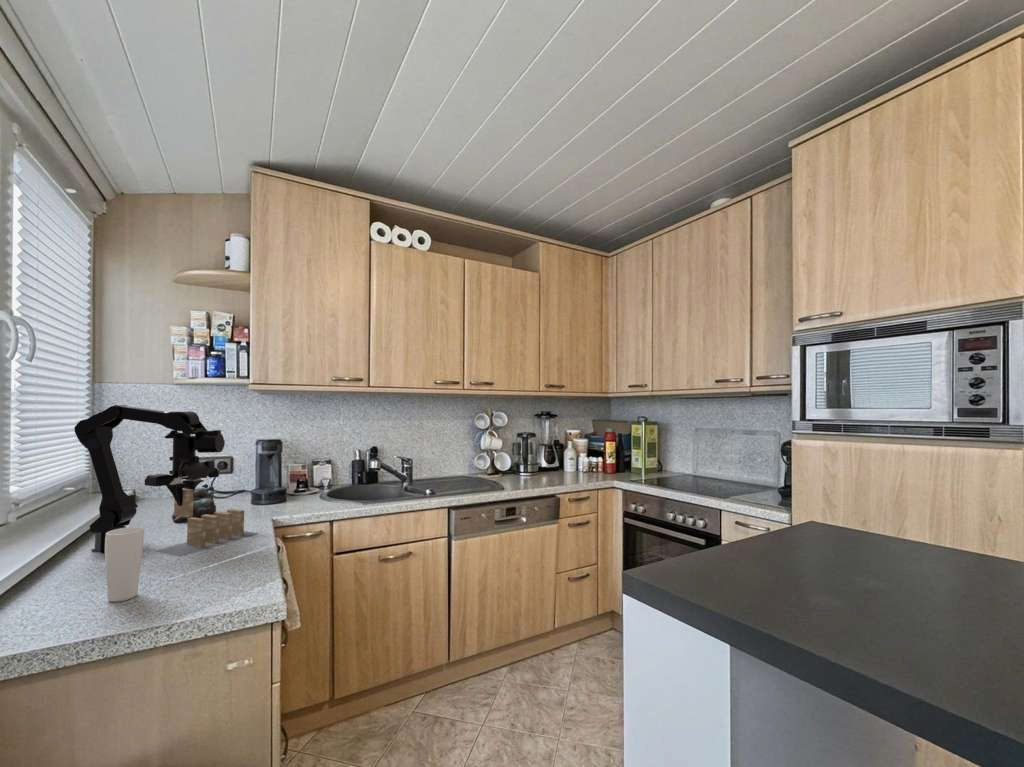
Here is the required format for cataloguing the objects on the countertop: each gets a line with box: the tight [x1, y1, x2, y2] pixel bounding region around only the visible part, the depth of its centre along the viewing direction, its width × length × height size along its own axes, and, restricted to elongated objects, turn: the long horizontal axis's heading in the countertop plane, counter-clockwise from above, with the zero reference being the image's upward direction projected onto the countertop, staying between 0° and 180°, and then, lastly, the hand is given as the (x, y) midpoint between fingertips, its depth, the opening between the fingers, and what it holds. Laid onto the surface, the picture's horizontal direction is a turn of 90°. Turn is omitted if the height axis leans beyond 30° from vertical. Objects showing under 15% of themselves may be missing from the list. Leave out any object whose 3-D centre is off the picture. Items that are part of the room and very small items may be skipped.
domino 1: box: [173, 488, 193, 517], centre depth 142 cm, size 2×6×8 cm, turn 68°
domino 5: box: [226, 508, 245, 536], centre depth 154 cm, size 2×6×8 cm, turn 66°
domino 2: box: [186, 517, 206, 548], centre depth 142 cm, size 2×6×8 cm, turn 66°
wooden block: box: [214, 510, 232, 540], centre depth 150 cm, size 2×6×8 cm, turn 66°
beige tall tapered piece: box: [104, 526, 145, 603], centre depth 106 cm, size 7×7×15 cm
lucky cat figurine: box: [171, 483, 217, 523], centre depth 177 cm, size 15×12×14 cm
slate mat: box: [154, 530, 260, 558], centre depth 146 cm, size 25×12×1 cm, turn 156°
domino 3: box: [200, 514, 219, 544], centre depth 146 cm, size 2×6×8 cm, turn 66°
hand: (183, 505), depth 142 cm, fingers closed on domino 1, 2 cm apart
